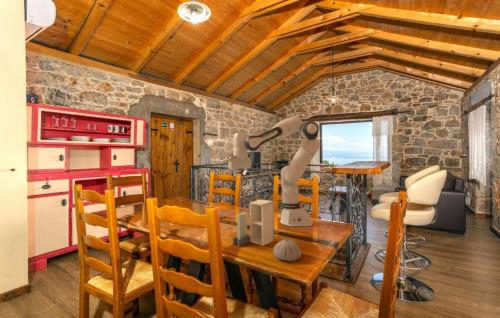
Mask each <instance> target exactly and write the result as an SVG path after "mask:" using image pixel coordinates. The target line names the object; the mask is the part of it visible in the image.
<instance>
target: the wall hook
mask: <svg viewBox="0 0 500 318" xmlns="http://www.w3.org/2000/svg"><path fill="white" fill-rule="evenodd" d="M211 206H213V207H216V205H210V206H209V207H211ZM224 216H225V214H224V213H223V211H222V210H221V209H220V216H219V217H220V218H224Z"/></svg>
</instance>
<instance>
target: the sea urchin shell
mask: <svg viewBox="0 0 500 318" xmlns="http://www.w3.org/2000/svg"><path fill="white" fill-rule="evenodd" d="M272 251H273V252H272V253H273V255H274V257H276V258H277V259H278V260H282V261H285V262H286V261H287V262H294V261H297V260H299V259H300V258H301V256H302V250H301V248H300V245H298V244H297V243H296V241H294V240H292V239H282V240H280V241H278V242H277V243H276V244H275V245H274V247H273V248H272Z"/></svg>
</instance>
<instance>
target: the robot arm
mask: <svg viewBox="0 0 500 318" xmlns="http://www.w3.org/2000/svg"><path fill="white" fill-rule="evenodd" d="M319 130H320V128H319V125H318V123H317V122H316V121H312V120H308V121H306V122H304V121H303V120H302V118H301V117H299V116H298V115H294V116H290V117H287V118H284V119H283V120H281V121H279V122H277V123H276V124H275V125H274V126H273V127H272V128H270V129H269V130H267V131H265V132H263V133H260V134H253V135H251V134H248V133H246V131H238V132H235V133H234V135H233V141H232V143H233V144H232V146H233V152H232V153H233V155H230V156H229V158H228V164H227V169H228V170H232V174H233V177H237V176H238V173H237V172H236V171H237V170H244V171H243V172H242V175H243V176H246V175H247V173H248V169H251V168H252V154H250V153H248V152H247V150H248V151H251V152H256V151H257V150H259V149H260V148H261V146H262V145H264V144H265V143H267V142H269V141H271V140H274V139H281V138H282V139H283V138H285V137H288V136H290V135H292V134H294V133H296V134H298V136H300V138H302V139H303V143H302V145H301V146H300V147H299V149H298V150H297V151H296V153H295V154H294V155H293V156H292V159H291V161H290V163H289V164H288V165H286V166H284V167H282V168H281V171H280V180H281V181H280V182H281V190H282V191H281V192H282V195H281V196H282V197H281V199H282V200H281V217H280V221H279V223H281V224H282V225H285V226H288V227H312V226H314V220H313V219H311V217H310V214H309V212H307V211H306V210H305V209H303V208H302V207H303V204H302V203H301V202H299V187H298V182H299V181H300V180H301V178H302V176H303V174H304V172H305V170H306V168H307V167H308V165H309V163H311V161H312V160H313V159H314V157H315V155H316V154H317V152H318V151H319V149H320V146H321V142H320V140H319V139H318V137H319Z"/></svg>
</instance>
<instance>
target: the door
mask: <svg viewBox="0 0 500 318" xmlns="http://www.w3.org/2000/svg"><path fill="white" fill-rule="evenodd" d="M247 217H248V215H247V212H241V213H237V214H236V223H237V225H236V227H237V228H236V230H237V231H236V232H237V233H236V235H237V236H236V237H237V240H238V239H240V238H243V237H245V236H247V234H248V218H247ZM236 245H238V242H237V244H236Z"/></svg>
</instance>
